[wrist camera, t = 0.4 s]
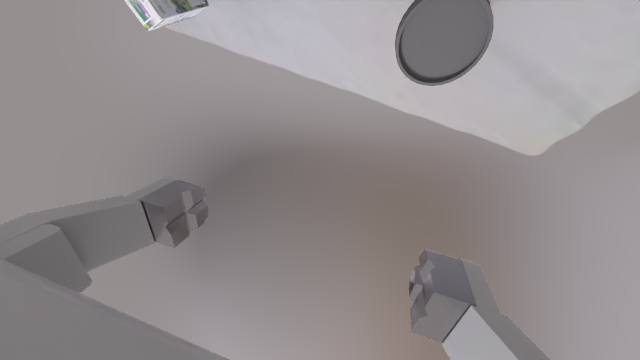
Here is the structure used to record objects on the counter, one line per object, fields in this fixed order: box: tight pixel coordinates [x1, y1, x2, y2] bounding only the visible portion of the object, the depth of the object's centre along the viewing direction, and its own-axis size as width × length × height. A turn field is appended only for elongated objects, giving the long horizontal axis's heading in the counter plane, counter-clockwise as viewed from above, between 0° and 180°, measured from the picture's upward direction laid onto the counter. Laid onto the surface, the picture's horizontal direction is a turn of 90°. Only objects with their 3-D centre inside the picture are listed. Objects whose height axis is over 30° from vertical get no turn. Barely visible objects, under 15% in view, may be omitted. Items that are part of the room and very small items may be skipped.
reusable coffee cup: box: [395, 0, 493, 86], centre depth 37 cm, size 13×13×15 cm
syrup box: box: [125, 0, 208, 31], centre depth 47 cm, size 6×6×14 cm
